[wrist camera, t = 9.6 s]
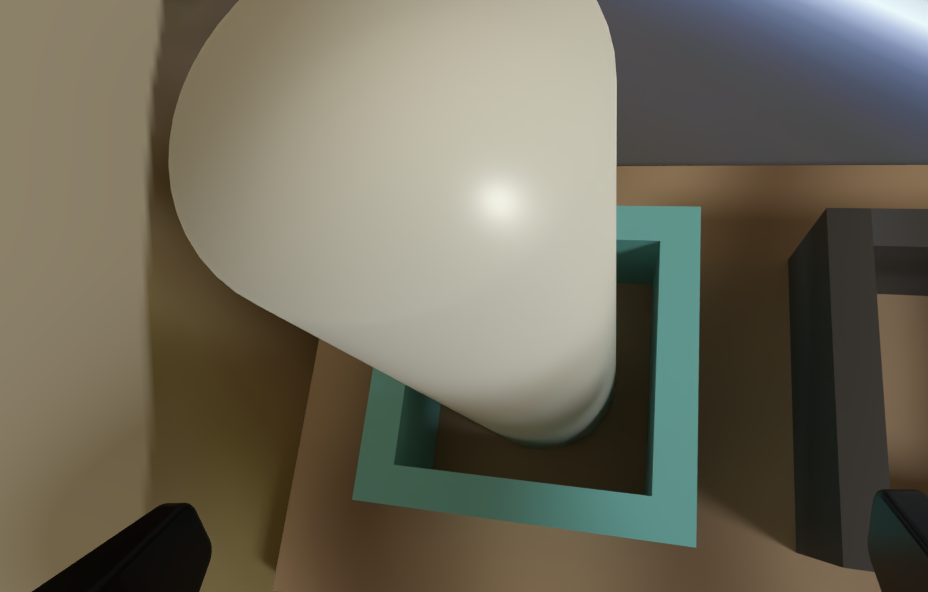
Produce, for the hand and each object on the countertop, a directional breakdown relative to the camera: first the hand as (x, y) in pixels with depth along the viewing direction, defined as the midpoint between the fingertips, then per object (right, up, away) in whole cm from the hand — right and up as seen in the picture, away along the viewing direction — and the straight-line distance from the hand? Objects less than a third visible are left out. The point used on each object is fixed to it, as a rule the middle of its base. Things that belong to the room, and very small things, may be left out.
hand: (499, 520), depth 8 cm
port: (+2, +1, +8) cm, 8 cm away
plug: (+2, +1, +8) cm, 8 cm away
